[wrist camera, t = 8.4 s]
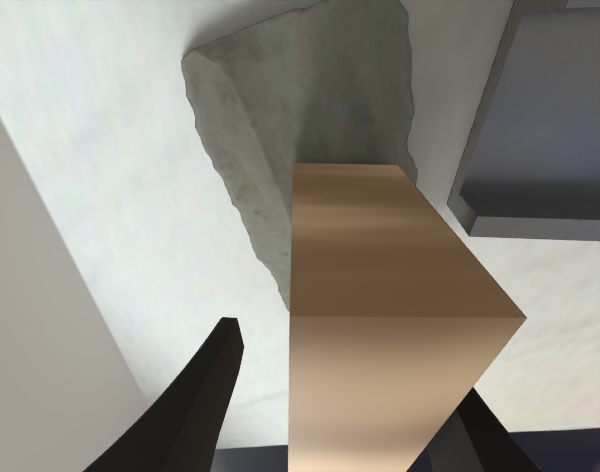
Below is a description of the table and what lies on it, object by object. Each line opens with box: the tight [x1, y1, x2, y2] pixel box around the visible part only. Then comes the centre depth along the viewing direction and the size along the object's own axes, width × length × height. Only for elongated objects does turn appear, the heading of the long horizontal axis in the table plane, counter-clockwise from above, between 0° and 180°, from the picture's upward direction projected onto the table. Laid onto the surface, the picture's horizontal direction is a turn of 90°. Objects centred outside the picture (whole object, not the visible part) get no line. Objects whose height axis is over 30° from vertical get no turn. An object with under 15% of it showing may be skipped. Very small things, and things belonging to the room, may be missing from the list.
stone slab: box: [181, 0, 418, 312], centre depth 16 cm, size 22×3×10 cm
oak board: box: [288, 163, 527, 472], centre depth 12 cm, size 12×4×8 cm, turn 179°
